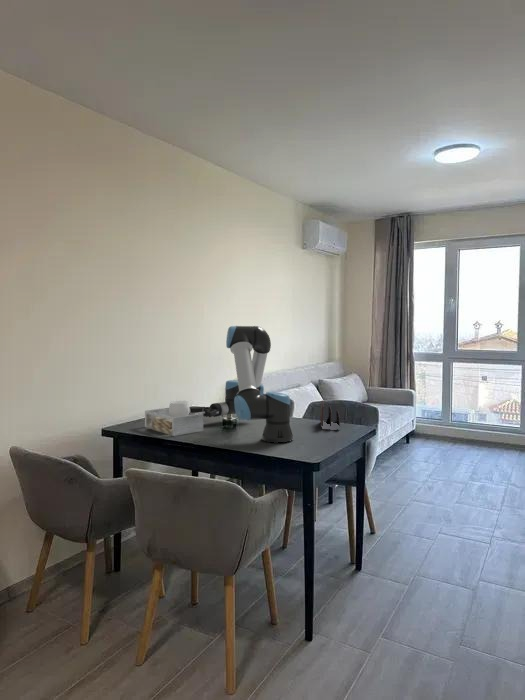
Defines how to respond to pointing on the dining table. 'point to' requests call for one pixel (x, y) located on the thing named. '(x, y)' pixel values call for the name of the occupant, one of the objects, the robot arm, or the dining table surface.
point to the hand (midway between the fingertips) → (187, 413)
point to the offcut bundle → (162, 424)
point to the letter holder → (329, 416)
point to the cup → (179, 408)
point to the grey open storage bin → (175, 421)
